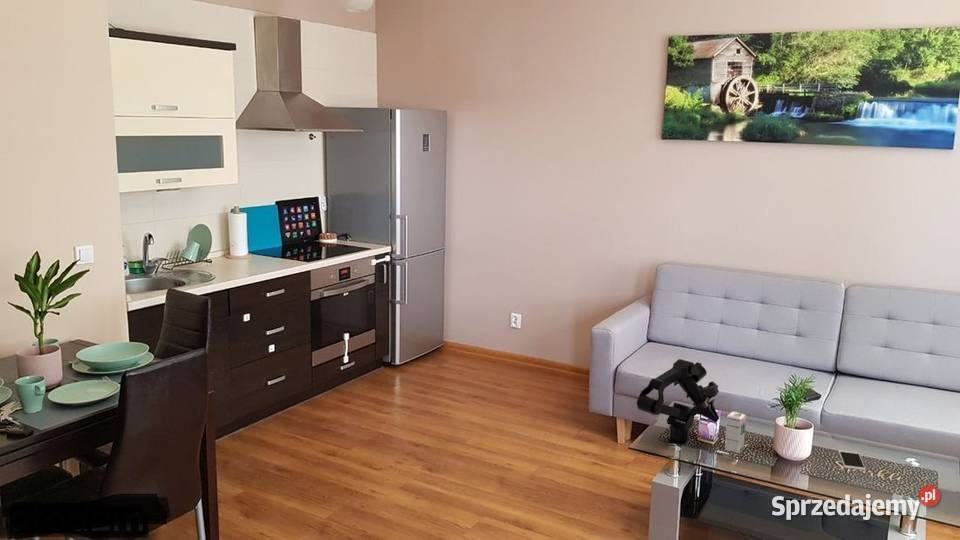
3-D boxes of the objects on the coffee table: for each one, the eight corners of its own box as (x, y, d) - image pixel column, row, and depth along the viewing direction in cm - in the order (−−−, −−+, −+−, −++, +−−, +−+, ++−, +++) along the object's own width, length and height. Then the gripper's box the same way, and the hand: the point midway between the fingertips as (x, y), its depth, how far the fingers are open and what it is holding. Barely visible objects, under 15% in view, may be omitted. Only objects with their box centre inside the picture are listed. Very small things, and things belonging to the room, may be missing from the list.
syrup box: (739, 454, 292) (742, 418, 289) (724, 450, 295) (726, 415, 292) (744, 449, 296) (747, 414, 293) (729, 445, 300) (731, 410, 297)
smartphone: (858, 453, 293) (858, 451, 293) (865, 471, 279) (866, 469, 279) (838, 451, 295) (838, 449, 295) (844, 469, 281) (844, 466, 281)
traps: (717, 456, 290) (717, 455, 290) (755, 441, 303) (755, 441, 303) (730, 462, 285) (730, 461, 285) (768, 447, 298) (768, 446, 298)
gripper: (699, 384, 289) (727, 417, 285) (713, 370, 304) (739, 401, 301) (678, 400, 294) (705, 432, 291) (692, 385, 310) (717, 416, 307)
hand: (717, 420), depth 297 cm, fingers closed
